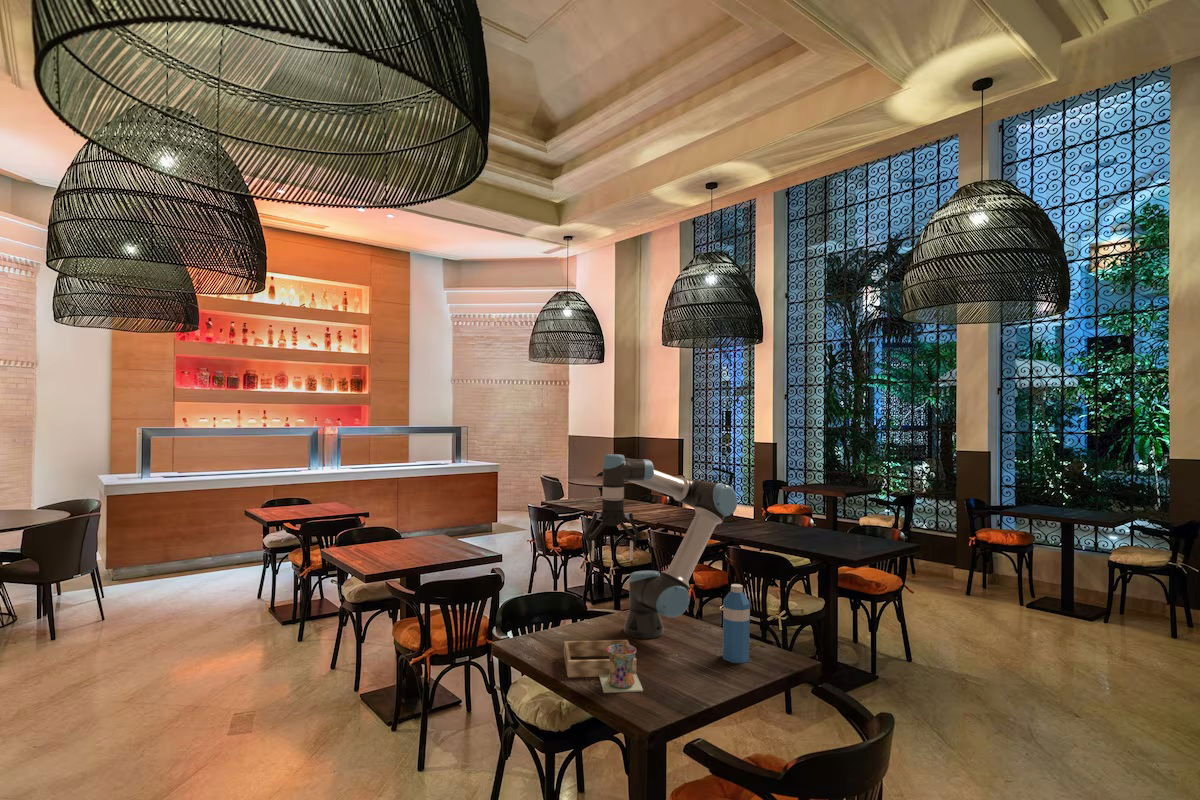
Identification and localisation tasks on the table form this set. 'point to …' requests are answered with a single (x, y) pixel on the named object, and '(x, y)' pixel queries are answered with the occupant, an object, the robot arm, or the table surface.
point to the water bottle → (736, 625)
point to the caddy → (590, 666)
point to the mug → (621, 665)
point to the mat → (611, 689)
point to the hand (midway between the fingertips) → (611, 560)
